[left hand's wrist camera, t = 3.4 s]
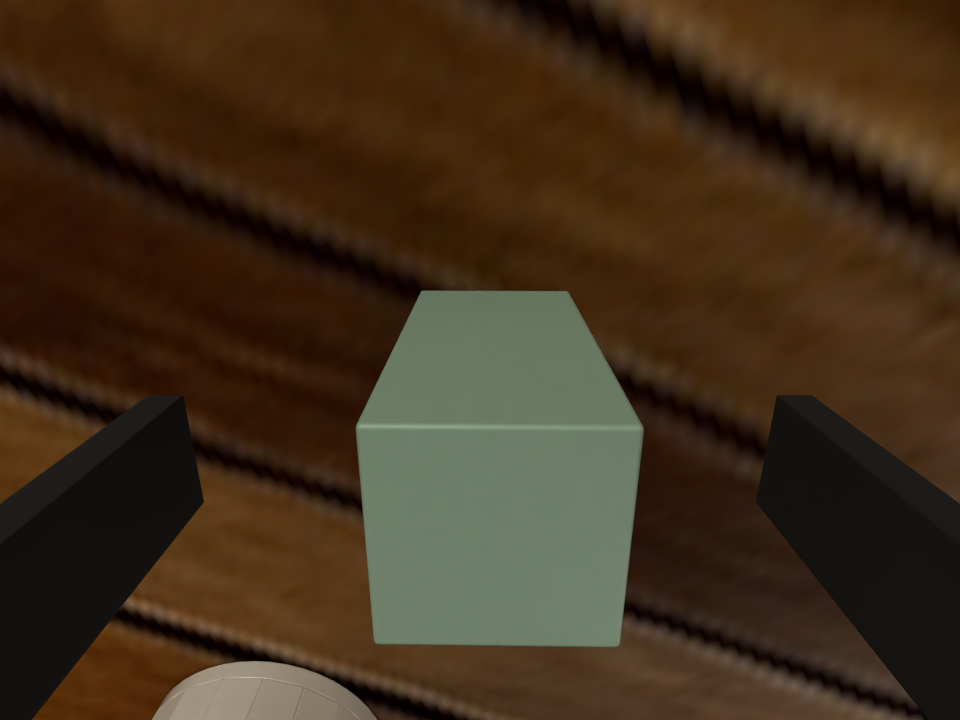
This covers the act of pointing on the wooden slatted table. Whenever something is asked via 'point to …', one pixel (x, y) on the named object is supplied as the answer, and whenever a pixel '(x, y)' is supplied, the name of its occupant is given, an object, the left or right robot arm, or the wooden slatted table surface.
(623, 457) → the block
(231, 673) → the mug
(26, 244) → the wooden slatted table surface
